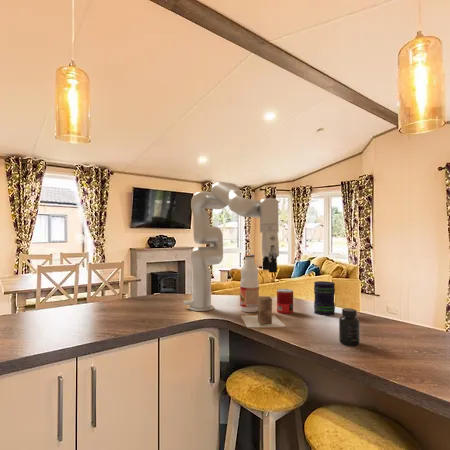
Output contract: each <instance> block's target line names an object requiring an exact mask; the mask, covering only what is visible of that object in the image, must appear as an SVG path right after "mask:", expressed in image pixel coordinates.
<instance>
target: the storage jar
mask: <svg viewBox="0 0 450 450" xmlns="http://www.w3.org/2000/svg"><path fill="white" fill-rule="evenodd" d="M313 283H314V285H313V290H314V291H313V293H314V302H313V308H314V309H313V310H314V314H315V315H319V316H323V315H326V316H325V317H330V315H332V316H335V315H334V314H335V310H336V304H335V295H336V292H335V291H336V289H335V288H336V286H335V282H332V281H322V280H321V281H319V280H317V281H314V282H313Z"/></svg>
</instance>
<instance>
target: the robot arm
mask: <svg viewBox="0 0 450 450" xmlns="http://www.w3.org/2000/svg"><path fill="white" fill-rule="evenodd" d="M210 190H211V191H205V190H204V191H197V192H196V193H194V194H193V196H192V197H191V202H190V207H191V213H192V224H193V225H192V226H193V227H192V228H193V229H192V230H193V241H194V243H196V244H198V245H209V246H197V247H194V248H193V249H192V250H191V252H190V260H191V265H192V266H191V267H192V286H191V287H192V294H191V295H192V297H191V299H190V300H183V305H185V306H188V308H189V310H191V311H194V312H207V311H212V310H214V309H215V307H214V305H213V304H212V272H211V269H210V267H209V266H211V265H212V266H214V265H219V264H221V262H223V258H224V240H223V239H224V238H223V237H224V235H223V232H222V230H221V228H220V227H218V226H214V225H212V226H211V224H210V216H209V213H208V211H207V210H206V209H210V210H223V209H224V208H226V207H228V208H229V210H230V211H231V212H233V213H235V214H236V215H238V216H240V217H242V218H243V217H244V218H258V219H259V233H260V234H261V254H262V270H263V271H268V273H277V272H278V259H277V258H278V257H279V256H280V249H279V248H280V245H279V234H278V233H279V231H280V230H279V223H280V222H279V200H278V199H276V198H270V197H269V198H262V199H259V200H258V199H253V198H252V199H251V198H244V197H243V192H242V191H241V190H240V188H239V186H238V184H236V183H232V182H224V181H217V182H215V183H213V184H212V186H211V189H210Z"/></svg>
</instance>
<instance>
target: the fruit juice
mask: <svg viewBox="0 0 450 450" xmlns="http://www.w3.org/2000/svg"><path fill="white" fill-rule="evenodd" d="M244 259H245V260H244V265H243V266H242V268H241V270H240V276H241V278H240V285H239V287H240V288H239V289H240V290H239V293H240V294H239V296H240V297H239V309H240V311H241V312H244V313H256V312H258V297H260V293H259V291H260V290H259V289H260V285H259V280H258V279H259V278H258V277H259V269H258V267H257V266H256V263H255V254H244Z"/></svg>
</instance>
